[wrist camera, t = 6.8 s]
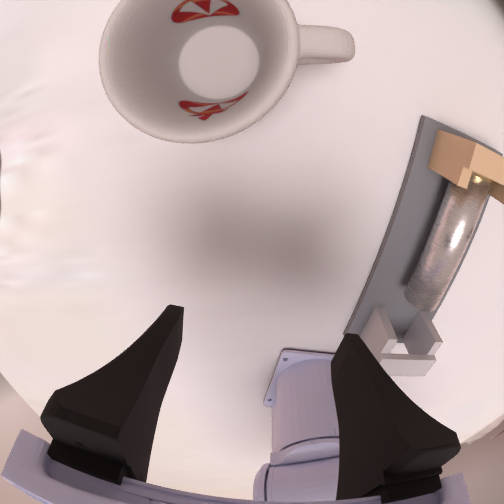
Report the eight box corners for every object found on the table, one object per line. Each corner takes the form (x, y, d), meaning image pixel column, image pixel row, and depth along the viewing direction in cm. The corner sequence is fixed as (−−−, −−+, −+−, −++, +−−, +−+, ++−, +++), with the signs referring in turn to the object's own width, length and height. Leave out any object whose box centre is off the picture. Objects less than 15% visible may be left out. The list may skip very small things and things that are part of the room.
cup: (326, 2, 14) (362, -46, 7) (335, 118, 18) (379, 136, 11) (153, 19, 15) (92, -12, 8) (166, 131, 18) (109, 158, 11)
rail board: (415, 339, 26) (432, 379, 22) (343, 333, 26) (354, 379, 22) (498, 152, 17) (541, 172, 13) (421, 115, 17) (463, 126, 12)
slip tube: (427, 290, 23) (443, 314, 20) (397, 285, 23) (410, 311, 20) (477, 165, 17) (503, 179, 15) (447, 152, 17) (472, 164, 14)
